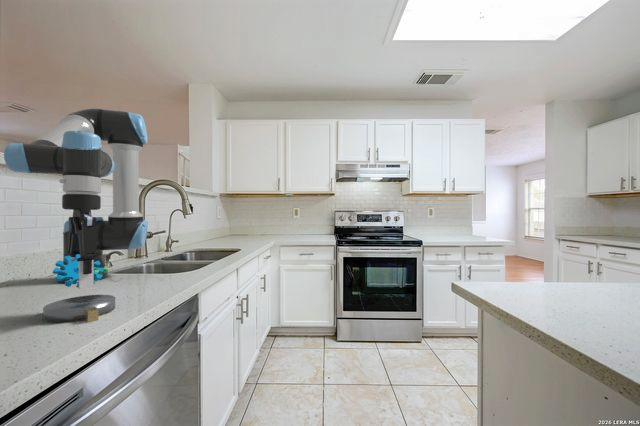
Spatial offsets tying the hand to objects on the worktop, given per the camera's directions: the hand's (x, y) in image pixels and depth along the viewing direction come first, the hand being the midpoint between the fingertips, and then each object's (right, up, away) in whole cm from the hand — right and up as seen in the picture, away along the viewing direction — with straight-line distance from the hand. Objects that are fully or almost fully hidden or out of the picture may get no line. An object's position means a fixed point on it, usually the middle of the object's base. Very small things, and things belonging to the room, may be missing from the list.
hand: (81, 284), depth 73 cm
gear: (0, 0, 0) cm, 0 cm away
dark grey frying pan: (+1, -7, -1) cm, 7 cm away
